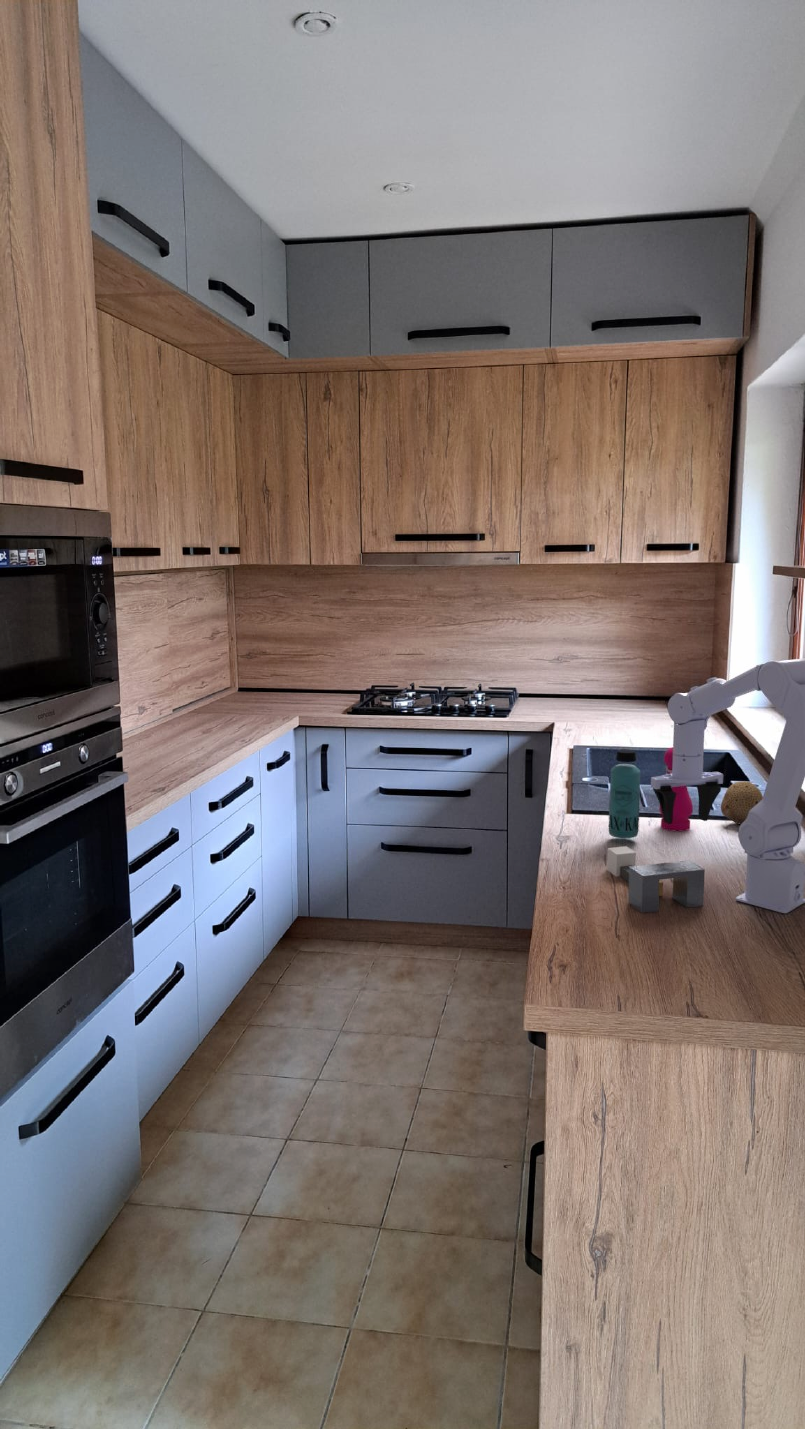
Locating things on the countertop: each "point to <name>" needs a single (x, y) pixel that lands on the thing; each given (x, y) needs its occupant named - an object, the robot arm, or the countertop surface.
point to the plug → (623, 863)
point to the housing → (683, 873)
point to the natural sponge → (740, 801)
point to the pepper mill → (677, 801)
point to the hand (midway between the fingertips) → (685, 821)
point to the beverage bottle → (624, 797)
